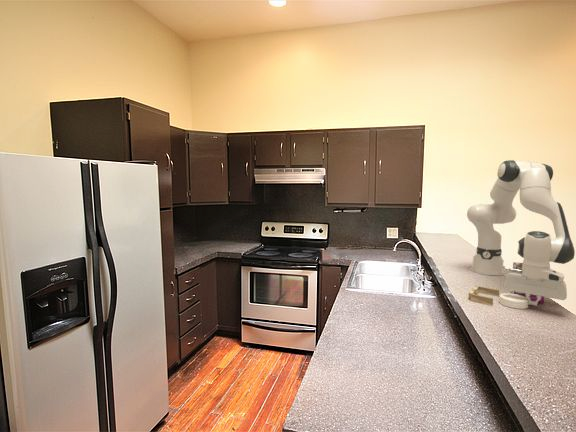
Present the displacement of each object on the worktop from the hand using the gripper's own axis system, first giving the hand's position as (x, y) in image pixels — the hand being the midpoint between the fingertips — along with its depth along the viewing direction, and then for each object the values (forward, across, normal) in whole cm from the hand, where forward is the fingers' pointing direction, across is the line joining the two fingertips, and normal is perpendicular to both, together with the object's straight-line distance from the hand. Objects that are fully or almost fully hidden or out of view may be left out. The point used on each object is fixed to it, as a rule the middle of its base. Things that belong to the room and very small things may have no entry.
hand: (532, 304), depth 130 cm
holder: (+2, -21, 0) cm, 21 cm away
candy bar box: (+2, -3, +9) cm, 9 cm away
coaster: (+2, -6, 0) cm, 7 cm away
